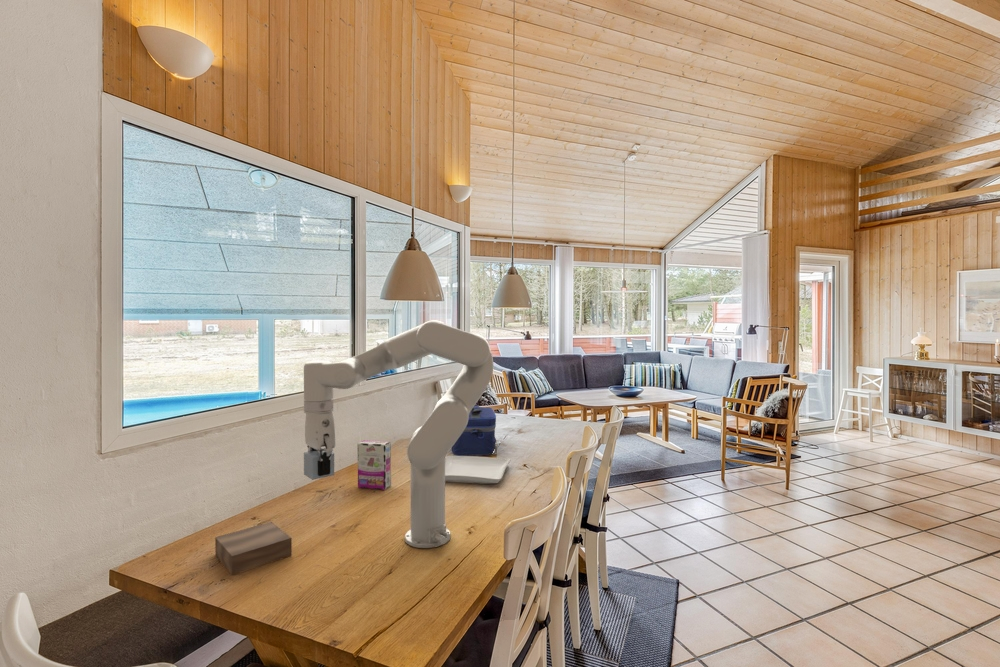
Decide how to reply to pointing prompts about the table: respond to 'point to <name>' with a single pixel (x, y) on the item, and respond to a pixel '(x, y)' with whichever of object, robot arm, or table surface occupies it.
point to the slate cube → (315, 465)
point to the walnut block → (252, 547)
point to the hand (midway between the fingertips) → (319, 471)
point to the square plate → (474, 469)
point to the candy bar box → (374, 465)
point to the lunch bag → (477, 433)
